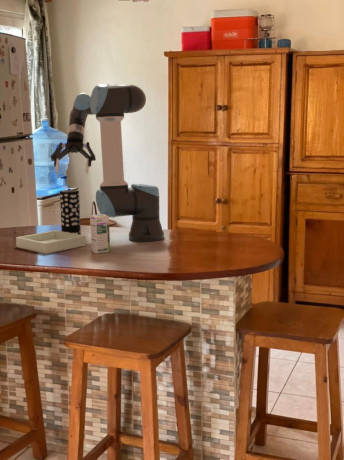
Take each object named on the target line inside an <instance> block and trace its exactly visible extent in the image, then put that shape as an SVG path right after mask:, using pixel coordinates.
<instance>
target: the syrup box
mask: <svg viewBox="0 0 344 460" xmlns="http://www.w3.org/2000/svg"><path fill="white" fill-rule="evenodd" d="M89 220H90V221H89V222H90V236H91V237H90V239H91V240H90V241H91V243H90V244H91V251H92V252H93V253H95V254H104V253H111V237H110V236H111V235H110V234H111V233H110V217H109V216H108V215H106V214H101V213H100V214H91V215H89Z"/></svg>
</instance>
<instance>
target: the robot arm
mask: <svg viewBox="0 0 344 460" xmlns="http://www.w3.org/2000/svg"><path fill="white" fill-rule="evenodd" d="M146 102H147V97H146V93H145V92H144V90H143V89H141V87H139V86H137V85H134V84H127V83H126V84H118V83H117V84H109V83H105V84H97V85H95V86H94V87H93V89H92V92H91V95H89V94H87V93H84V92H81V93H79V94H77V95H76V97H75V99H74V101H73V107H72V109H71V110H70V113H69V117H68V118H69V121H68V129H67V138H66V143H63V142H59V144H58V146H57V148H56V149H55V150H54V152H53V153H52V154H51V155H50V159H51V162H53V167H54V169H55V173H56V174H59V170H60V169H59V168H60V160H62V159H63V158H64V157H65V156H67V155H69V154H72V153H80V154H81V155H82V156H83V157H84V158H85V159H86V161H85V162H86V163H85V172H86V173H85V174H89V168H91V167H92V161H96V154H95V153H94V151H93V150H92V148H91V146H90V142H89V141H87V142H86V143H84V138H85V127H86V121H87V118H88V116H89V115H91V116H92V115H93V116H94V115H95V119H96V120H97V122H99V128H100V129H99V130H100V143H101V144H100V145H101V146H100V147H101V163H102V165H101V166H102V182H101V183H100V185H99V189H97V190H96V192H95V201H96V207H97V210H98V212H99V213H100V214H106V215H108V216H109V218H116V217H118V218H119V217H130V216H132V218H131V219H132V221H131V225H130V230H129V232H128V239H129V240H131V241H134V242H155V241H160V240H161V241H162V240H163V239H164V238H165V232H164V230H163V227H162V223H161V220H160V219H161V218H160V216H161V215H160V192H159V191H160V190H159V188H158V187H157V186H155V185H150V184H144V183H143V184H142V183H132V184H130V185H131V186H130V187H129V183H128V182H127V181H126V180H125V173H124V171H125V170H124V155H123V154H124V153H123V138H122V137H123V135H122V121H123V120H124V118H125V114H133V113H137V112H139V111H141V110H142V109H143V108H144V107H145V106H146ZM84 148H85V149H86V150H87V151H86V150H85V149H84ZM87 152H88V153H87Z"/></svg>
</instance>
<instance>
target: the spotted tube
mask: <svg viewBox="0 0 344 460" xmlns="http://www.w3.org/2000/svg"><path fill="white" fill-rule="evenodd" d="M59 203H60V205H59V206H60V207H59V208H60V224H61V226H60V227H61V229H60V230H61V231H62V232H68V233H73V234H79V235H82V232H81V231H82V229H81V209H80V207H81V205H80V190H78V189H63V190H60V191H59Z"/></svg>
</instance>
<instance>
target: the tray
mask: <svg viewBox="0 0 344 460" xmlns="http://www.w3.org/2000/svg"><path fill="white" fill-rule="evenodd" d="M15 242H16V248H19V249H23V250H24V249H25V250H29V251H33V252H35V253H36V252H37V253H41V254H45V255H47V254H50V253H51V254H52V253H56V252H60V251H66V250H71V249H74V248H81V247H84V246H87V237H86V235H83V234H81V235H79V234H73V233H68V232H62V230H50V231H44V232H39V233H34V234H28V235H21V236H17V237H16V236H15Z"/></svg>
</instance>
